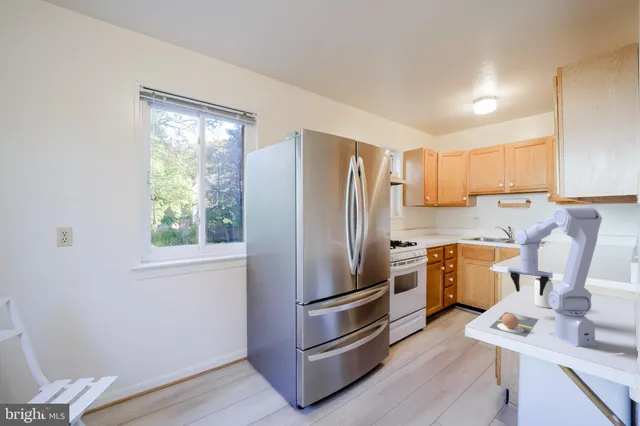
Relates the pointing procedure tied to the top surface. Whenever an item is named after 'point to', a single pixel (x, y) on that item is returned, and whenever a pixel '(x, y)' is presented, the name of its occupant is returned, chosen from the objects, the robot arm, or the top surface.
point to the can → (543, 300)
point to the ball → (510, 320)
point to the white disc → (513, 330)
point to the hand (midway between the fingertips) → (529, 293)
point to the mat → (523, 321)
